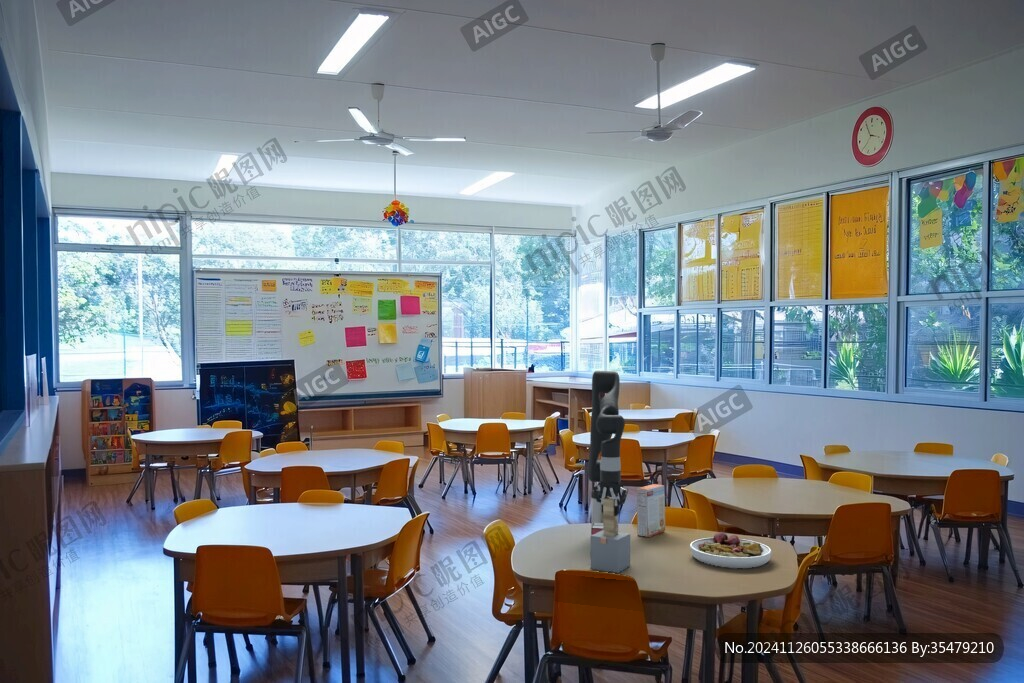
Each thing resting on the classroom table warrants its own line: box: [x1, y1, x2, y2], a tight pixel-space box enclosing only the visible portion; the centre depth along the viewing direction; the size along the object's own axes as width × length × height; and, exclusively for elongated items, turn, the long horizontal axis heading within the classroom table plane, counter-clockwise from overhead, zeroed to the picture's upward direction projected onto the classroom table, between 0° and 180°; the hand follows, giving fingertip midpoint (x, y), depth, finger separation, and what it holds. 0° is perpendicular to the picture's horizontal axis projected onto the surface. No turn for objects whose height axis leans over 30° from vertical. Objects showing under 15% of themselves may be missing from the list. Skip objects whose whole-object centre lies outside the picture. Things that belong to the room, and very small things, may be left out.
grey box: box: [590, 530, 631, 574], centre depth 278 cm, size 12×11×12 cm
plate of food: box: [689, 531, 772, 569], centre depth 289 cm, size 30×30×8 cm
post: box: [603, 497, 619, 537], centre depth 278 cm, size 4×4×24 cm
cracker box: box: [636, 483, 666, 538], centre depth 329 cm, size 14×6×21 cm, turn 136°
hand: (610, 514), depth 278 cm, fingers closed on post, 4 cm apart
